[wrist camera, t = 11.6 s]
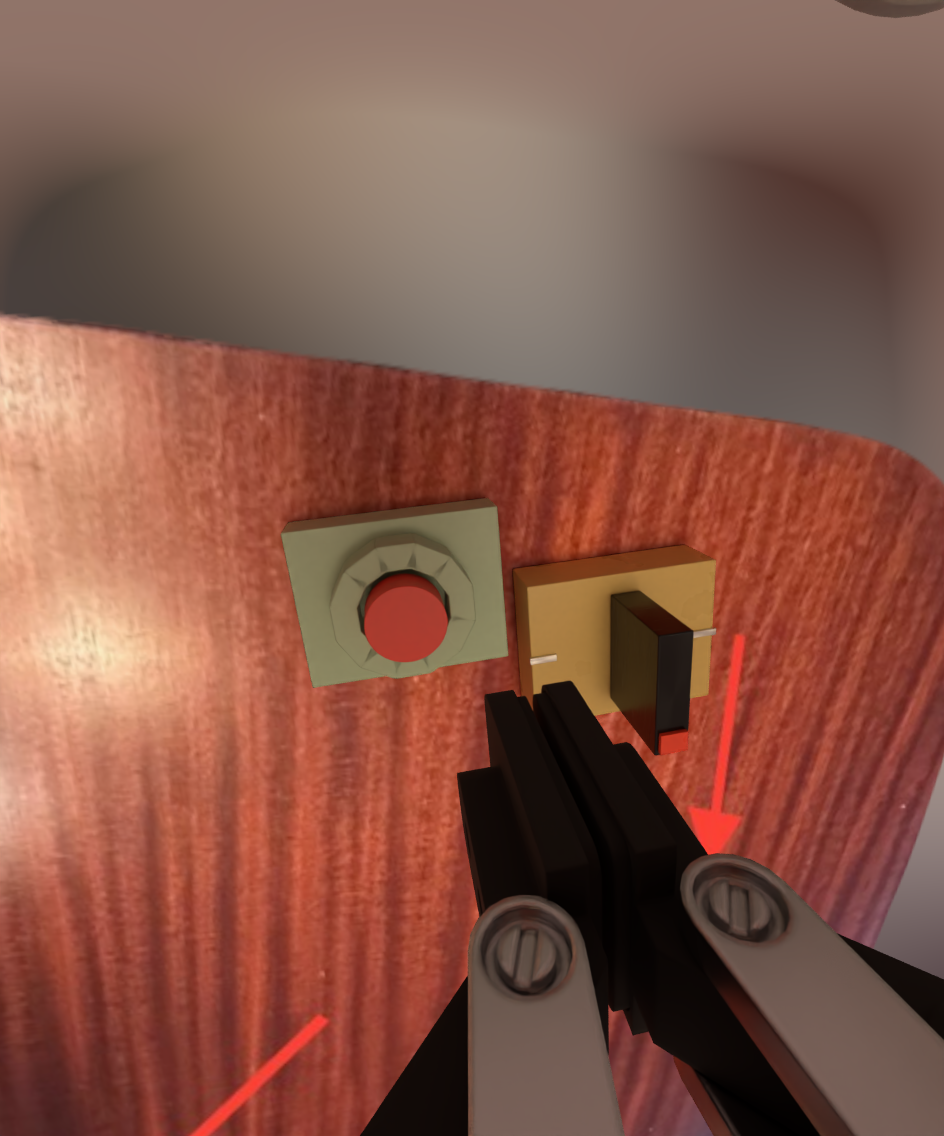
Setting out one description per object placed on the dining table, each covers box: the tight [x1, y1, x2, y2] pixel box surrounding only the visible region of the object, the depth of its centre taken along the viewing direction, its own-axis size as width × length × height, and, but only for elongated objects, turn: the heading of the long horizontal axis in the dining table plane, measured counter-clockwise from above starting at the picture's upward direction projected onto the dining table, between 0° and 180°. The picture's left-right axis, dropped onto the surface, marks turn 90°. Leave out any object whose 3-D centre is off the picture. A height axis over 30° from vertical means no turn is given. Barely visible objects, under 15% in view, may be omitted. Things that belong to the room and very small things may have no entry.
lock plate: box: [513, 545, 716, 716], centre depth 30 cm, size 10×8×3 cm
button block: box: [281, 498, 508, 688], centre depth 27 cm, size 10×8×4 cm
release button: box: [364, 573, 448, 662], centre depth 24 cm, size 4×4×2 cm
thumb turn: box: [610, 591, 694, 755], centre depth 26 cm, size 6×2×5 cm, turn 4°
